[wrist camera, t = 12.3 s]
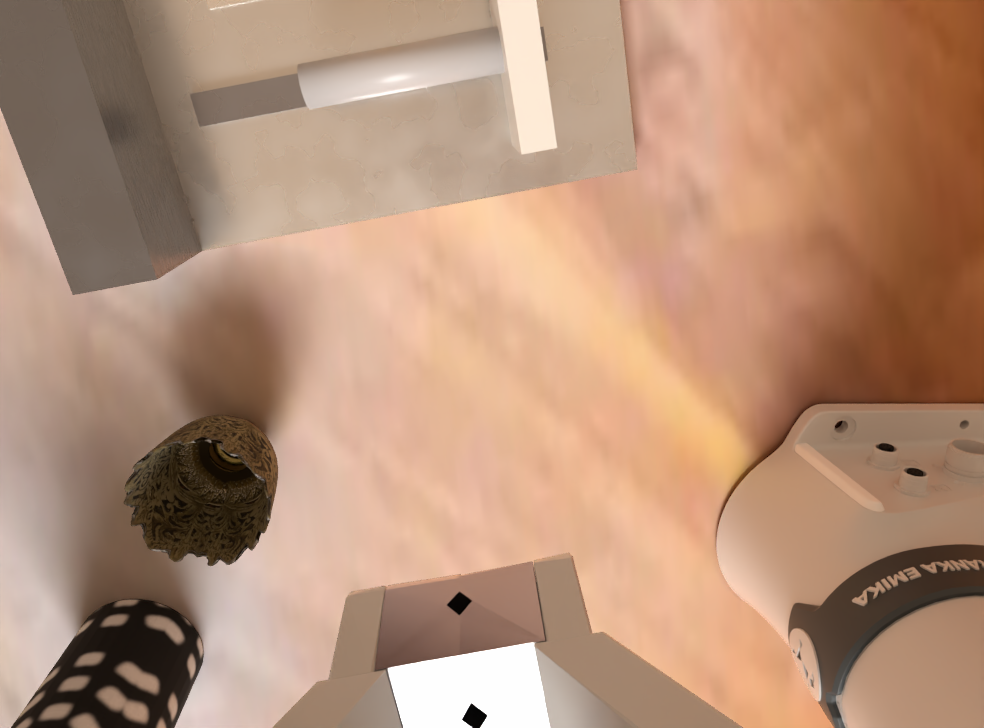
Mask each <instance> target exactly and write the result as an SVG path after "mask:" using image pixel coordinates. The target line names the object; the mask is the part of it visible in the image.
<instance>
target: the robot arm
mask: <svg viewBox="0 0 984 728" xmlns="http://www.w3.org/2000/svg"><path fill="white" fill-rule="evenodd" d="M839 421H843V422H842V424H841V426H840V427H838V428H835V425H836V423H837V422H839ZM716 547H717V557H718V562H719V566H720V569H721V571H722V574H723V576H724V578H725V580H726V581H727V583H728V585H729V586H730V587H731V589H732V590H733V591H734V592H735V593H736V594H737V595H738V596H739V597H740V598H741V599H742V600H743V601H745V602H746V603H747V604H749V605H750V606H751V607H753V608H754V609H755V610H756V611H757V612H758V613H759V614H760V615H761V616H762V617H764V618H765V619H766V621H767V622H768V623H769V624H770V625H771V626H772V627H773V628H774V629H775V630H776V632H777V633H778V634H779V635H780V636H781V637H782V639H783V640H784V641H785V642H786V644H787V645H788V646H789V647H790V649H791V653H792V656H793V659H794V661H795V664H796V666H797V668H798V670H799V672H800V674H801V676H802V678H803V680H804V682H805V684H806V686H807V687H808V689H809V691H810V693H811V694H812V696H813V697H814V699H815V700H816V701H818V702H819V704H820V706H821V707H822V709H823V711H824V713H825V714H826V716H827V717H828V719H829V720H830V722H831V723H832V725H833V726H834V728H984V404H817V405H814V406H811V407H810V408H808V409H807V410H806V411H804V412H803V413H802V415H801V416H800V417H799V418H798V420H797V421H796V423H795V424H794V426H793V427H792V429H791V431H790V432H789V434H788V436H787V437H786V439H785V441H784V442H783V444H782V445H781V446H780V447H779V448H778V449H777V450H776V451H775V452H773V453H772V454H771V455H770V456H768V457H767V458H766V459H765V460H763V461H762V462H761V463H760V464H758V465H757V466H756V467H755V468H754V469H753V470H752V471H751V472H750V473H749V474H748V475H747V476H746V477H745V478H744V479H743V480H742V481H741V482H740V484H739V485H738V486H737V488H736V489H735V490H734V492H733V493H732V495H731V497H730V498H729V500H728V502H727V504H726V506H725V508H724V510H723V513H722V516H721V519H720V522H719V526H718V531H717V541H716ZM534 569H535V571H534ZM535 575H536V576H535ZM536 581H537V582H536ZM537 586H538V587H537ZM538 592H539V593H538ZM272 728H743V727H741V726H740V725H738V724H737V723H736V722H734V721H733V720H731V719H730V718H728V717H727V716H725V715H724V714H722V713H721V712H719V711H718V710H717V709H715V708H714V707H712V706H711V705H709V704H708V703H706V702H705V701H703V700H702V699H701V698H699V697H698V696H696V695H695V694H693V693H692V692H690V691H689V690H687V689H686V688H685V687H683V686H682V685H680V684H679V683H677V682H676V681H674V680H673V679H671V678H670V677H669V676H667V675H666V674H664V673H663V672H661V671H660V670H658V669H657V668H655V667H654V666H653V665H651V664H650V663H648V662H647V661H645V660H644V659H642V658H641V657H639V656H638V655H637V654H635V653H634V652H632V651H631V650H629V649H628V648H626V647H625V646H623V645H622V644H621V643H619V642H618V641H616V640H615V639H613V638H612V637H610V636H609V635H607V634H606V633H605V632H600V633H594V634H592V630H591V626H590V622H589V618H588V614H587V611H586V607H585V603H584V599H583V595H582V591H581V587H580V584H579V580H578V576H577V572H576V568H575V564H574V560H573V556H572V555H571V554H570V553H566V554H561V555H556V556H552V557H547V558H542V559H537V560H534V566H533V562H527V563H522V564H516V565H511V566H506V567H501V568H495V569H490V570H485V571H479V572H474V573H469V574H464V575H461V574H458V575H452V576H445V577H439V578H432V579H426V580H420V581H413V582H407V583H400V584H394V585H388V587H386V586H381V587H375V588H370V589H364V590H358V591H353V592H351V593H350V594H349V595H348V596H347V598H346V601H345V605H344V610H343V615H342V619H341V624H340V628H339V633H338V638H337V642H336V647H335V652H334V656H333V661H332V666H331V670H330V675H329V680H325V681H319V682H317V683H316V684H315V685H314V686H313V687H312V688H311V689H310V690H309V691H308V692H307V693H306V694H305V695H304V696H303V697H302V698H301V699H300V700H299V701H298V702H297V703H296V704H295V705H294V706H293V707H292V708H291V709H290V710H289V711H288V712H287V713H286V714H285V715H284V716H283V717H282V718H281V719H280V720H279V721H278V722H277V723H276V724H275V725H274V726H273V727H272Z"/></svg>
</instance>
